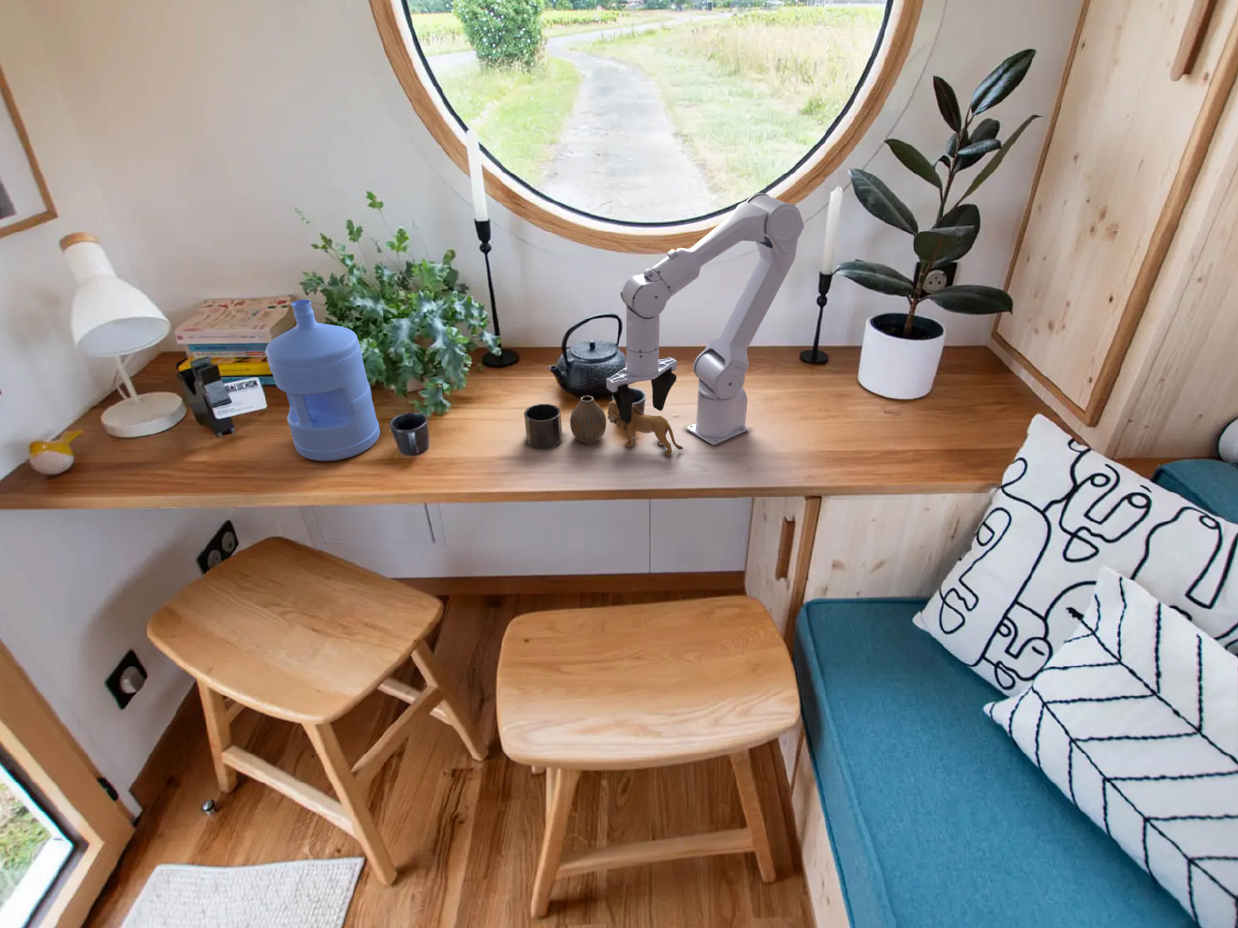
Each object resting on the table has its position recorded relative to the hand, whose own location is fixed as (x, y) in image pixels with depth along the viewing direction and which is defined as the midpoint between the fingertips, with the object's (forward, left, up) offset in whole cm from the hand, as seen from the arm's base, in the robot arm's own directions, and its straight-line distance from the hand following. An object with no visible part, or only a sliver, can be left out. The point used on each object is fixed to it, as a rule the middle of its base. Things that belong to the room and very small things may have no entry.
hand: (642, 414), depth 126 cm
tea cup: (+13, -13, -7) cm, 20 cm away
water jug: (+45, -37, -7) cm, 59 cm away
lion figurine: (0, 0, -7) cm, 7 cm away
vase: (+6, -8, -7) cm, 13 cm away
